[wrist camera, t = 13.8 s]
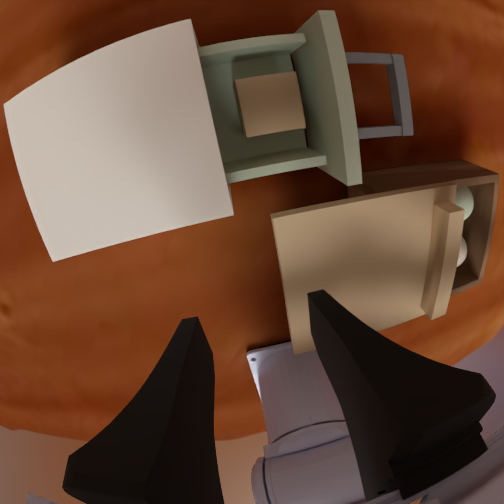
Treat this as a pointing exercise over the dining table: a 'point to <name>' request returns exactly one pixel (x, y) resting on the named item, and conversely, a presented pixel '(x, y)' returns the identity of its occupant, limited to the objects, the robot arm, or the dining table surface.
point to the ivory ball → (462, 252)
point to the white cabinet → (120, 144)
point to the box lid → (371, 256)
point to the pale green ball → (465, 200)
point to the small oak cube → (269, 104)
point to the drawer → (312, 96)
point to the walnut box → (463, 175)
